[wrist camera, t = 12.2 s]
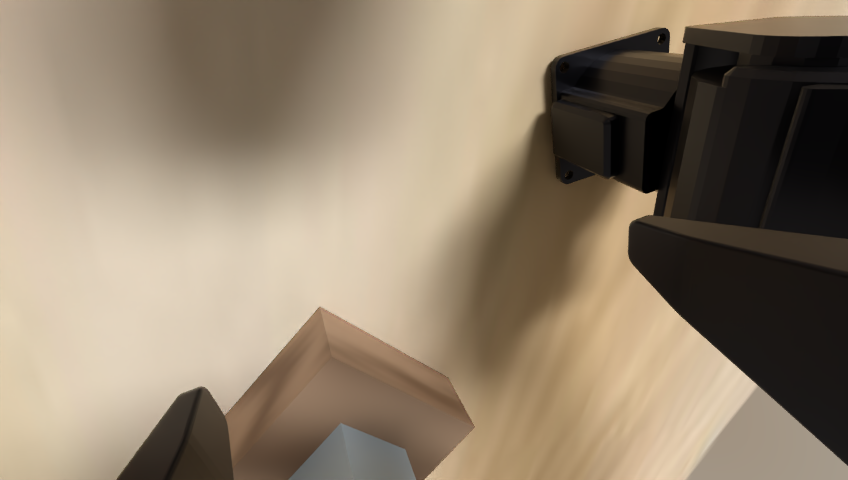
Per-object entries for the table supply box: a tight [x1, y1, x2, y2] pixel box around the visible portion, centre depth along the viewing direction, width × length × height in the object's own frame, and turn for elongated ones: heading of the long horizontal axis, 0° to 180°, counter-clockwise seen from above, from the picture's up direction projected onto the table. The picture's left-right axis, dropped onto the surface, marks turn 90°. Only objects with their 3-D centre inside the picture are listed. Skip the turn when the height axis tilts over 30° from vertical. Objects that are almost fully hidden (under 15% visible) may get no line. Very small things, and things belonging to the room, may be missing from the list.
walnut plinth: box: [225, 307, 475, 480], centre depth 25 cm, size 10×10×4 cm
